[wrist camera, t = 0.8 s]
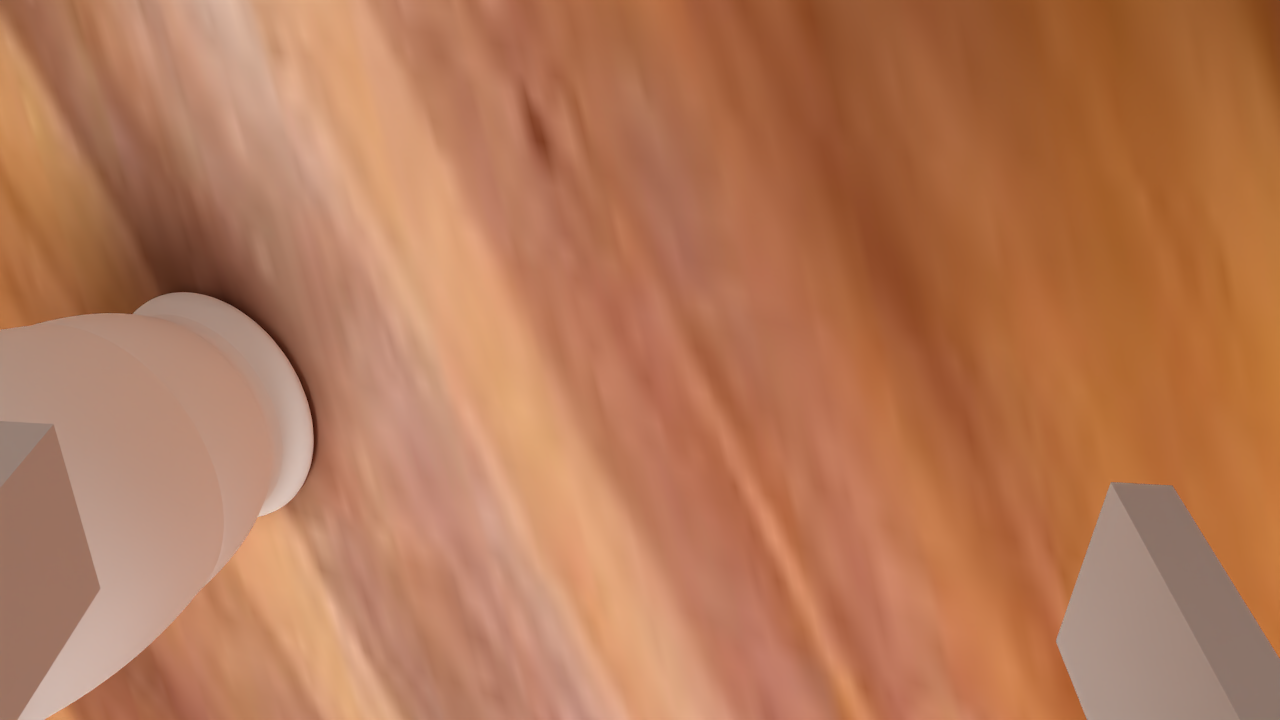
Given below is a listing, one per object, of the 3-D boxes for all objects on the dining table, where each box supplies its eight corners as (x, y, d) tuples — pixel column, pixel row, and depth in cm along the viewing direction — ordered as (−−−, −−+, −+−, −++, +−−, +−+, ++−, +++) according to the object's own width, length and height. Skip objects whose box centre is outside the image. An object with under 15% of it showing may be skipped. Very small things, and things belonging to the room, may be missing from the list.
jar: (387, 520, 38) (24, 830, 25) (177, 549, 43) (-225, 826, 29) (271, 229, 35) (-201, 405, 22) (60, 292, 40) (-438, 471, 27)
